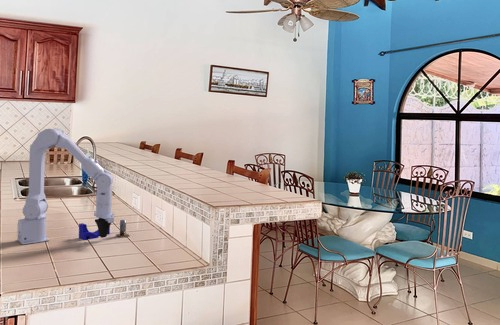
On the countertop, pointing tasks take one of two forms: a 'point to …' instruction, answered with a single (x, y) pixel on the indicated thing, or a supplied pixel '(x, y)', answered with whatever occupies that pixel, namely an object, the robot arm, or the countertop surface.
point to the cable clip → (86, 234)
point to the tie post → (122, 229)
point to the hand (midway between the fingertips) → (103, 236)
